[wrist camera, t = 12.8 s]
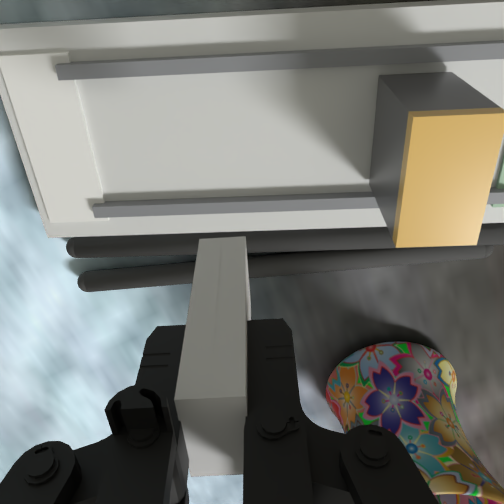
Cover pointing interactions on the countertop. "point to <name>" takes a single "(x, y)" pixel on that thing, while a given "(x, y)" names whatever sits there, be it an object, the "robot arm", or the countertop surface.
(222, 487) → the countertop surface
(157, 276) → the cable
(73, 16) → the countertop surface
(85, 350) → the countertop surface
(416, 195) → the block
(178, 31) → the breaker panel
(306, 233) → the cable
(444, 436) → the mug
